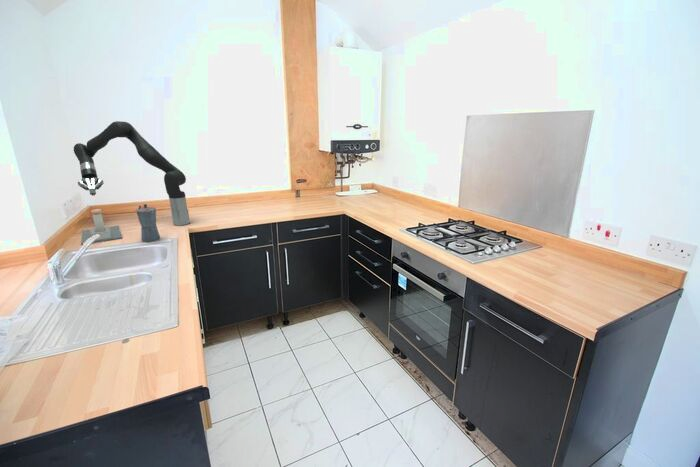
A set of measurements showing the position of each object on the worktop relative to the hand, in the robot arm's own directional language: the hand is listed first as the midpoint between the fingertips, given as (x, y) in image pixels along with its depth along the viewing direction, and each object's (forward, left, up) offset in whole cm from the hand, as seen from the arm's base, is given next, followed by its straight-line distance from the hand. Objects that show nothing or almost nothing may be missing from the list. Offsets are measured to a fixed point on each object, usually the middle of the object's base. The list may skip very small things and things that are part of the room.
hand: (93, 194), depth 200 cm
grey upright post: (-15, +6, -19) cm, 25 cm away
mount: (-23, +10, -20) cm, 32 cm away
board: (-16, +7, -21) cm, 27 cm away
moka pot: (-47, -3, -21) cm, 52 cm away
